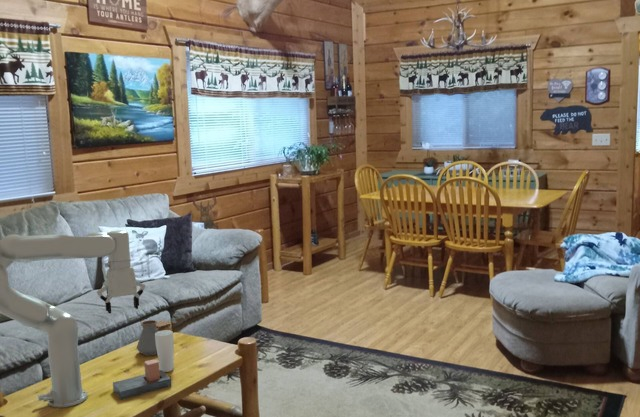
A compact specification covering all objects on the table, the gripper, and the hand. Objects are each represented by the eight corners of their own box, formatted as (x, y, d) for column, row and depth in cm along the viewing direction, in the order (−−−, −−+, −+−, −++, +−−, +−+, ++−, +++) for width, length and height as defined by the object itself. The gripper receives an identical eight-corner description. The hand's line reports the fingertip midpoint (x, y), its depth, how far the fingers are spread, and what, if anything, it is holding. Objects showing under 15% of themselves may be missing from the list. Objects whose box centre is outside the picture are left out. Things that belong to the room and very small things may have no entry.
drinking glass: (171, 373, 237) (168, 336, 235) (154, 373, 238) (151, 335, 236) (178, 367, 244) (175, 330, 242) (162, 366, 245) (159, 329, 243)
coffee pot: (131, 353, 261) (128, 318, 259) (155, 345, 270) (152, 311, 268) (161, 364, 247) (157, 328, 245) (184, 355, 256) (182, 320, 254)
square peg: (149, 388, 224) (147, 364, 223) (146, 385, 228) (144, 361, 226) (160, 385, 226) (158, 362, 225) (157, 382, 230) (155, 359, 229)
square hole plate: (121, 400, 216) (120, 391, 215) (113, 390, 224) (112, 382, 224) (171, 386, 226) (170, 378, 225) (162, 377, 234) (161, 370, 234)
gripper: (97, 269, 220) (100, 316, 222) (146, 263, 228) (149, 308, 230) (92, 266, 226) (96, 311, 228) (140, 259, 235) (143, 304, 237)
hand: (122, 310), depth 229 cm, fingers open, 9 cm apart
